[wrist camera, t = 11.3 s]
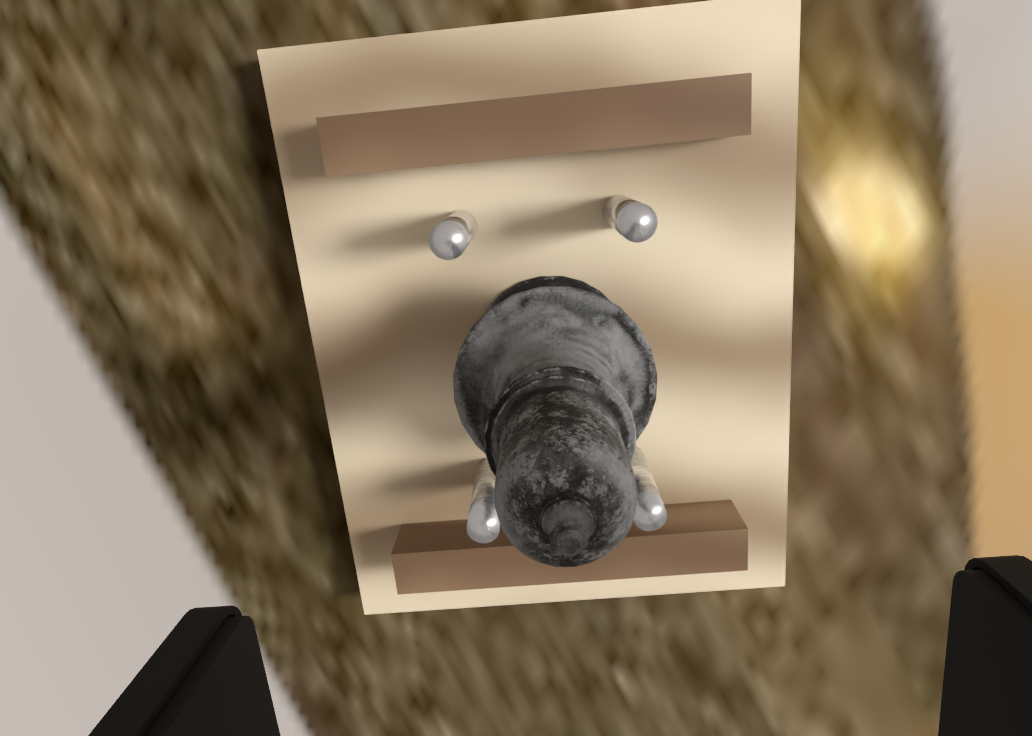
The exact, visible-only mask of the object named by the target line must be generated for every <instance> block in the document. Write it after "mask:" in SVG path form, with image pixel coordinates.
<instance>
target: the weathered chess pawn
mask: <svg viewBox="0 0 1032 736" xmlns="http://www.w3.org/2000/svg"><path fill="white" fill-rule="evenodd" d="M453 387H454V402H455V405H456V408H457V411H458V414H459V417H460V420H461V423H462V425H463V427H464V428H465V430H466V431H467V433H468V434H469V436H470V437H471V439H472V440H473V442H474V443H475V445H476V446H477V447H478V448H479V449H481V450H482V451H483V452H484V453H485V454H486V457H487V460H488V463H489V466H490V469H491V471H492V472H493V474H494V475H495V477H496V479H495V488H494V499H495V509H496V512H497V516H498V519H499V522H500V525H501V528H502V530H503V532H504V533H505V535H506V536H507V538H508V539H509V541H510V542H511V544H512V545H513V546H514V547H516V548H517V549H518V550H519V551H520V552H521V553H522V554H524V555H525V556H527V557H529V558H531V559H533V560H535V561H537V562H539V563H542V564H546V565H550V566H555V567H576V566H580V565H584V564H589V563H592V562H594V561H596V560H598V559H600V558H602V557H604V556H606V555H608V554H609V553H610V552H611V551H612V550H613V549H614V548H616V547H617V546H618V545H619V544H620V543H621V542H622V540H623V539H624V537H625V536H626V534H627V533H628V531H629V530H630V528H631V525H632V522H633V519H634V516H635V513H636V507H637V485H636V481H635V477H634V472H633V469H632V466H631V463H632V460H633V457H634V454H635V451H636V441H637V439H638V438H639V436H640V435H641V433H642V432H643V430H644V429H645V427H646V426H647V424H648V422H649V419H650V416H651V413H652V410H653V407H654V404H655V402H656V393H657V370H656V366H655V361H654V357H653V353H652V349H651V347H650V345H649V343H648V342H647V340H646V338H645V336H644V335H643V333H642V331H641V329H640V327H639V326H638V325H637V324H636V323H635V322H634V321H633V320H632V319H631V318H630V317H629V316H628V315H627V314H626V312H625V311H624V310H623V309H622V308H621V307H620V306H618V305H616V304H614V303H612V302H611V301H610V300H609V299H608V298H607V297H606V296H605V295H604V294H603V293H602V292H601V291H599V290H597V289H596V288H594V287H592V286H590V285H589V284H587V283H585V282H583V281H580V280H576V279H573V278H569V277H565V276H539V277H536V278H532V279H529V280H525V281H521V282H519V283H518V284H516V285H514V286H512V287H511V288H509V289H507V290H506V291H504V292H502V293H501V294H500V295H499V296H498V297H497V298H496V299H495V300H494V301H493V303H492V304H491V305H490V306H489V307H488V308H487V310H486V312H485V313H484V315H483V316H482V317H481V318H480V319H479V320H478V321H477V322H476V323H475V324H474V325H473V326H472V328H471V329H470V331H469V333H468V335H467V337H466V338H465V340H464V342H463V344H462V345H461V347H460V349H459V352H458V356H457V361H456V365H455V369H454V373H453Z"/></svg>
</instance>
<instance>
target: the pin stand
mask: <svg viewBox="0 0 1032 736" xmlns="http://www.w3.org/2000/svg"><path fill="white" fill-rule="evenodd" d="M800 12H801V0H711V1H702V2H693V3H684V4H675V5H666V6H656V7H647V8H638V9H629V10H620V11H611V12H601V13H592V14H583V15H574V16H565V17H556V18H546V19H537V20H528V21H519V22H510V23H500V24H491V25H482V26H473V27H464V28H455V29H445V30H436V31H427V32H418V33H409V34H400V35H390V36H381V37H372V38H363V39H354V40H345V41H335V42H326V43H317V44H308V45H299V46H289V47H280V48H271V49H262V50H257V53H258V59H259V64H260V69H261V74H262V80H263V85H264V90H265V95H266V100H267V106H268V111H269V116H270V121H271V127H272V132H273V137H274V142H275V148H276V153H277V158H278V163H279V169H280V174H281V179H282V184H283V190H284V195H285V200H286V205H287V211H288V216H289V221H290V226H291V232H292V237H293V242H294V247H295V252H296V258H297V263H298V268H299V273H300V279H301V284H302V289H303V294H304V300H305V305H306V310H307V315H308V321H309V326H310V331H311V336H312V342H313V347H314V352H315V357H316V363H317V368H318V373H319V378H320V384H321V389H322V394H323V399H324V404H325V410H326V415H327V420H328V425H329V431H330V436H331V441H332V446H333V452H334V457H335V462H336V467H337V473H338V478H339V483H340V488H341V494H342V499H343V504H344V509H345V515H346V520H347V525H348V530H349V536H350V541H351V546H352V551H353V556H354V562H355V567H356V572H357V577H358V583H359V588H360V593H361V598H362V604H363V609H364V614H365V615H367V614H381V613H396V612H411V611H425V610H440V609H455V608H469V607H484V606H499V605H514V604H528V603H543V602H558V601H572V600H587V599H602V598H617V597H631V596H646V595H661V594H675V593H690V592H705V591H719V590H734V589H749V588H764V587H778V586H785V568H786V531H787V493H788V456H789V419H790V382H791V345H792V308H793V271H794V234H795V197H796V160H797V123H798V86H799V49H800ZM539 276H565V277H569V278H573V279H576V280H580V281H583V282H585V283H587V284H589V285H590V286H592V287H594V288H596V289H597V290H599V291H601V292H602V293H603V294H604V295H605V296H606V297H607V298H608V299H609V300H610V301H611V302H612V303H614V304H616V305H618V306H620V307H621V308H622V309H623V310H624V311H625V312H626V314H627V315H628V316H629V317H630V318H631V319H632V320H633V321H634V322H635V323H636V324H637V325H638V326H639V327H640V329H641V331H642V333H643V335H644V336H645V338H646V340H647V342H648V343H649V345H650V347H651V349H652V353H653V357H654V361H655V366H656V370H657V393H656V402H655V404H654V407H653V410H652V413H651V416H650V419H649V422H648V424H647V426H646V427H645V429H644V430H643V432H642V433H641V435H640V436H639V438H638V439H637V441H636V451H635V454H634V457H633V460H632V463H631V466H632V469H633V472H634V477H635V481H636V485H637V507H636V513H635V516H634V519H633V522H632V525H631V528H630V530H629V531H628V533H627V534H626V536H625V537H624V539H623V540H622V542H621V543H620V544H619V545H618V546H617V547H616V548H614V549H613V550H612V551H611V552H610V553H609V554H608V555H606V556H604V557H602V558H600V559H598V560H596V561H594V562H592V563H589V564H584V565H580V566H576V567H555V566H550V565H546V564H542V563H539V562H537V561H535V560H533V559H531V558H529V557H527V556H525V555H524V554H522V553H521V552H520V551H519V550H518V549H517V548H516V547H514V546H513V545H512V544H511V542H510V541H509V539H508V538H507V536H506V535H505V533H504V532H503V530H502V528H501V525H500V522H499V519H498V516H497V512H496V509H495V499H494V488H495V479H496V477H495V475H494V474H493V472H492V471H491V469H490V466H489V463H488V460H487V457H486V454H485V453H484V452H483V451H482V450H481V449H479V448H478V447H477V446H476V445H475V443H474V442H473V440H472V439H471V437H470V436H469V434H468V433H467V431H466V430H465V428H464V427H463V425H462V423H461V420H460V417H459V414H458V411H457V408H456V405H455V402H454V387H453V373H454V369H455V365H456V361H457V356H458V352H459V349H460V347H461V345H462V344H463V342H464V340H465V338H466V337H467V335H468V333H469V331H470V329H471V328H472V326H473V325H474V324H475V323H476V322H477V321H478V320H479V319H480V318H481V317H482V316H483V315H484V313H485V312H486V310H487V308H488V307H489V306H490V305H491V304H492V303H493V301H494V300H495V299H496V298H497V297H498V296H499V295H500V294H501V293H502V292H504V291H506V290H507V289H509V288H511V287H512V286H514V285H516V284H518V283H519V282H521V281H525V280H529V279H532V278H536V277H539Z"/></svg>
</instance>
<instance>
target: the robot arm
mask: <svg viewBox="0 0 1032 736" xmlns="http://www.w3.org/2000/svg"><path fill="white" fill-rule="evenodd" d="M89 736H280V733H279V728H278V724H277V720H276V715H275V711H274V707H273V702H272V698H271V694H270V690H269V685H268V681H267V677H266V673H265V668H264V664H263V660H262V656H261V651H260V647H259V643H258V639H257V634H256V630H255V626H254V623H253V620H252V619H251V618H250V617H249V616H242V614H241V612H240V610H239V609H238V608H237V607H235V606H220V607H204V608H194V609H191V610H189V611H188V612H187V613H186V614H185V615H184V616H183V618H182V619H181V620H180V621H179V623H178V624H177V625H176V626H175V628H174V629H173V630H172V631H171V633H170V634H169V635H168V636H167V638H166V639H165V640H164V641H163V643H162V644H161V645H160V646H159V648H158V649H157V650H156V651H155V653H154V654H153V655H152V656H151V658H150V659H149V660H148V662H147V663H146V664H145V665H144V666H143V668H142V669H141V670H140V672H139V673H138V674H137V675H136V677H135V678H134V679H133V680H132V682H131V683H130V684H129V685H128V687H127V688H126V689H125V690H124V692H123V693H122V694H121V695H120V697H119V698H118V699H117V700H116V702H115V703H114V704H113V705H112V707H111V708H110V709H109V710H108V712H107V713H106V714H105V715H104V717H103V718H102V719H101V721H100V722H99V723H98V724H97V725H96V727H95V728H94V729H93V731H92V732H91V733H90V734H89ZM938 736H1032V561H1031V560H1029V559H1027V558H1026V557H1024V556H1017V555H1015V556H1000V557H985V558H973V559H971V560H969V561H968V563H967V564H966V566H965V570H964V571H959V572H957V573H956V574H955V576H954V579H953V586H952V597H951V607H950V617H949V628H948V638H947V649H946V659H945V670H944V680H943V690H942V701H941V711H940V722H939V732H938Z"/></svg>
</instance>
